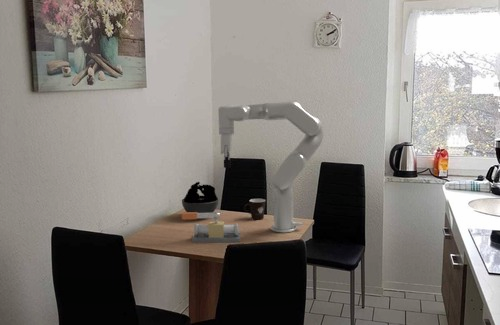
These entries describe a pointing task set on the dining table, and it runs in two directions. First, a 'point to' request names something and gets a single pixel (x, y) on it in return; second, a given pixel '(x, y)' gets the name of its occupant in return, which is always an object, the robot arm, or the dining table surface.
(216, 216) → the valve lever
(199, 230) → the valve base
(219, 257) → the dining table surface
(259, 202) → the coffee mug
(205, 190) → the bowl of black rocks
